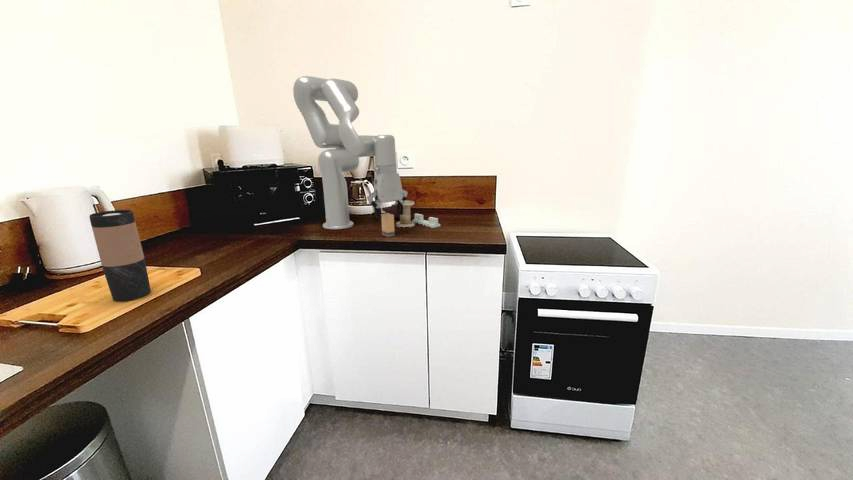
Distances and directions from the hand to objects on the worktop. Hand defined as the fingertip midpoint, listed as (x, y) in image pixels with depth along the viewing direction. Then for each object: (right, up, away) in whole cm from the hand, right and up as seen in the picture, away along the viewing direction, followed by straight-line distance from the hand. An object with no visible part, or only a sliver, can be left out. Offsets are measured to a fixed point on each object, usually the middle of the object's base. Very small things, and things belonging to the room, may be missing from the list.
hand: (389, 216), depth 134 cm
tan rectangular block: (-1, -7, +2) cm, 7 cm away
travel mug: (-56, -22, -49) cm, 78 cm away
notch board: (+14, -2, +19) cm, 23 cm away
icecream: (-1, +1, +31) cm, 31 cm away
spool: (+5, -3, +17) cm, 18 cm away
